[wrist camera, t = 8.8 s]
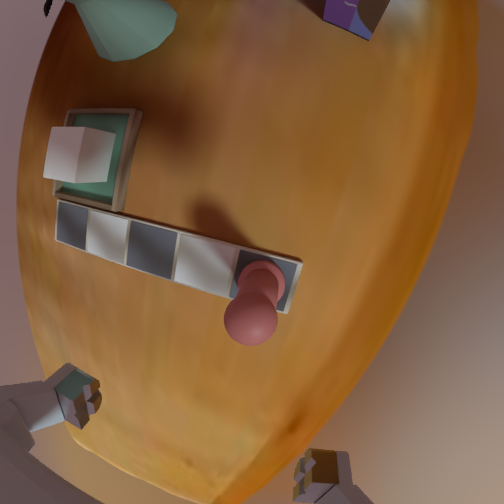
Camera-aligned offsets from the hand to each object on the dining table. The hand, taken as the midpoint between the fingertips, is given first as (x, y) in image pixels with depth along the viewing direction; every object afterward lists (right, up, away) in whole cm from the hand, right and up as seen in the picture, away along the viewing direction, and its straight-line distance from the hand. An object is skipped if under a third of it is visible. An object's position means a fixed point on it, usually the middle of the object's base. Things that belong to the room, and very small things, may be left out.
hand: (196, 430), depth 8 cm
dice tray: (-15, +17, +16) cm, 27 cm away
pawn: (+3, +4, +16) cm, 17 cm away
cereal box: (+15, +35, +8) cm, 39 cm away
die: (-15, +17, +16) cm, 27 cm away
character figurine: (-10, +30, +13) cm, 34 cm away
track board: (-8, +7, +18) cm, 20 cm away
